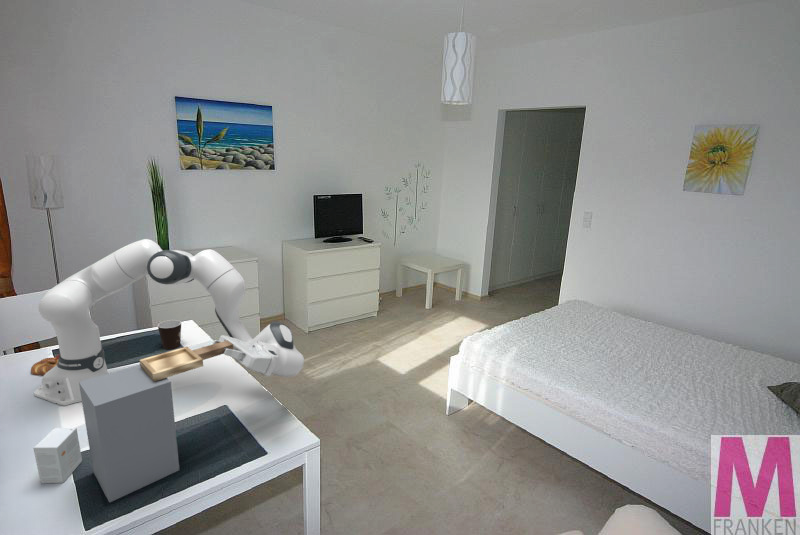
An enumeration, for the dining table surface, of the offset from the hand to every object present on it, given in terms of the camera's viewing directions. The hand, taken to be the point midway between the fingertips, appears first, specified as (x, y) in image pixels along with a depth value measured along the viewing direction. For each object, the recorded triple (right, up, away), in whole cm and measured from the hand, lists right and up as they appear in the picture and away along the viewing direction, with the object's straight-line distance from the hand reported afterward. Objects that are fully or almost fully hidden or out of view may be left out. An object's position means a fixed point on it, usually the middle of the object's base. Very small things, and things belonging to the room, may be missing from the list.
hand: (219, 347), depth 125 cm
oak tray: (-5, -3, -5) cm, 8 cm away
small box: (-36, -30, -11) cm, 48 cm away
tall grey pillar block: (-18, -31, -9) cm, 37 cm away
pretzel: (-76, -15, +37) cm, 86 cm away
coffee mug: (-43, -10, +61) cm, 75 cm away
